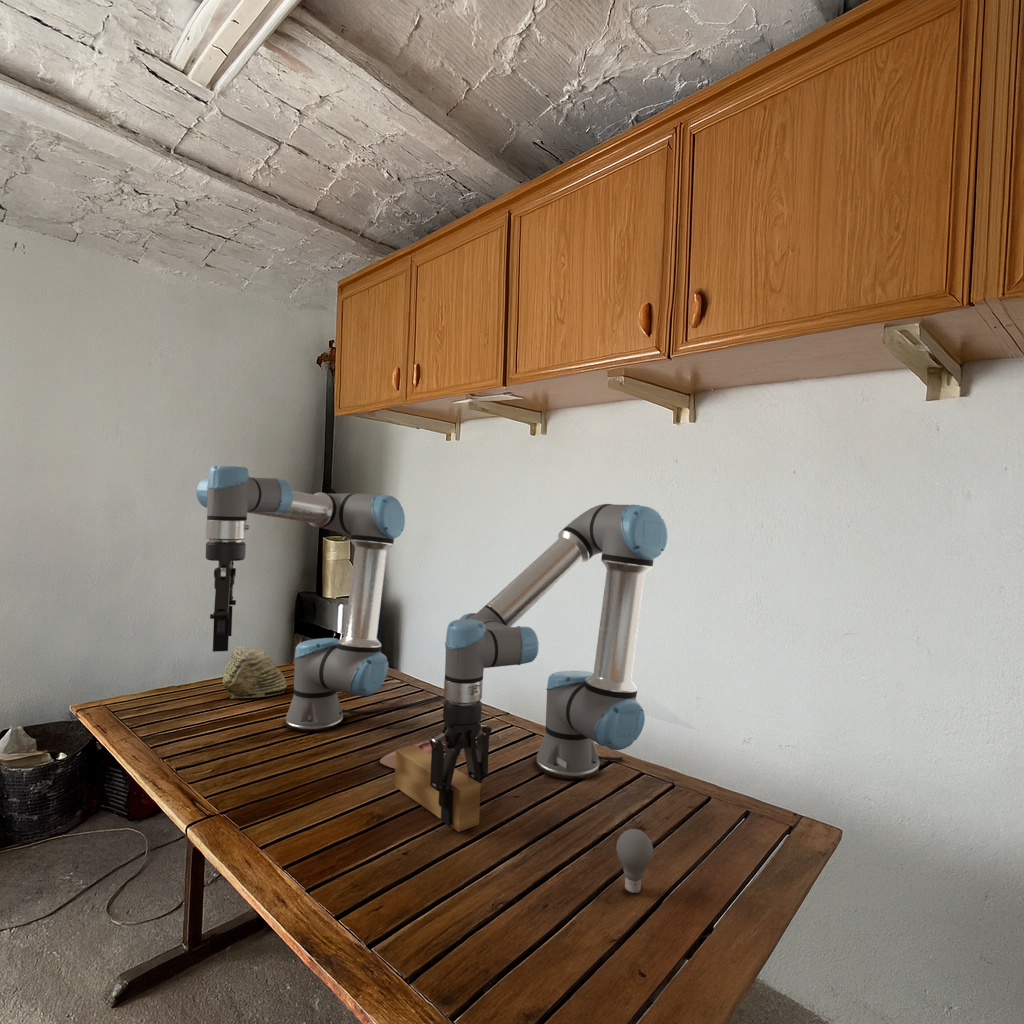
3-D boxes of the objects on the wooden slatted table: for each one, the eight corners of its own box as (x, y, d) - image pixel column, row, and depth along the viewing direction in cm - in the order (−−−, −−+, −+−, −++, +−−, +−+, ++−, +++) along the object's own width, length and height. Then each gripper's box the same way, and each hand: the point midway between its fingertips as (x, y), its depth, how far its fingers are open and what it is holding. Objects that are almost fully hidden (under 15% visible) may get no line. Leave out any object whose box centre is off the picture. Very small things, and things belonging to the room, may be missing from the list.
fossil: (218, 695, 195) (220, 647, 195) (278, 685, 208) (279, 640, 207) (228, 703, 189) (230, 653, 188) (289, 692, 201) (290, 645, 201)
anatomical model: (374, 749, 149) (393, 732, 160) (374, 766, 149) (393, 748, 161) (428, 756, 147) (443, 739, 158) (427, 774, 147) (443, 754, 158)
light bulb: (610, 879, 108) (613, 822, 108) (644, 879, 109) (647, 822, 109) (619, 902, 102) (622, 840, 102) (655, 901, 103) (658, 840, 103)
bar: (394, 786, 138) (395, 749, 138) (413, 780, 141) (414, 744, 141) (458, 832, 120) (460, 790, 120) (479, 824, 123) (480, 783, 123)
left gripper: (244, 546, 120) (240, 657, 121) (247, 536, 143) (244, 630, 144) (200, 545, 118) (196, 659, 118) (210, 536, 141) (207, 631, 141)
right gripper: (435, 714, 115) (430, 840, 115) (510, 697, 127) (505, 812, 127) (413, 703, 121) (408, 823, 121) (486, 687, 132) (482, 797, 133)
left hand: (222, 643), depth 131 cm, fingers open, 13 cm apart
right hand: (458, 817), depth 124 cm, fingers closed on bar, 5 cm apart
